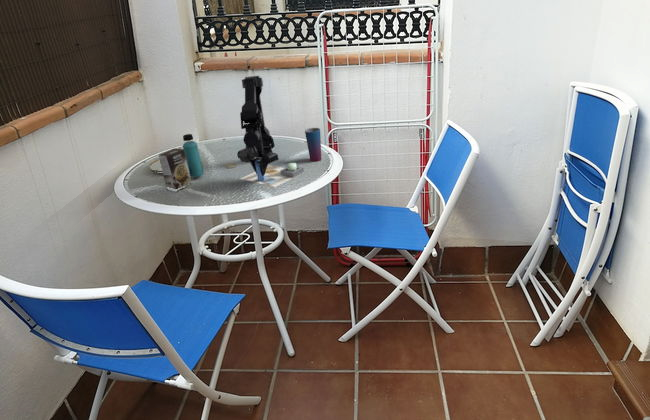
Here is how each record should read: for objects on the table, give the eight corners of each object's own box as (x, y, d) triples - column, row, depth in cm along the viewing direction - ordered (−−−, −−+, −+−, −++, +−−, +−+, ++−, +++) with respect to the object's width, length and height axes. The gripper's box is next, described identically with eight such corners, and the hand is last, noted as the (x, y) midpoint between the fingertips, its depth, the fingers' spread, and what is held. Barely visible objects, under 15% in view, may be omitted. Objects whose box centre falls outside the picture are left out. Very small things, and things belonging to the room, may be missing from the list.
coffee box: (177, 192, 203) (167, 156, 197) (166, 190, 207) (157, 154, 200) (192, 184, 210) (184, 149, 203) (182, 182, 214) (174, 147, 207)
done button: (285, 171, 207) (284, 165, 205) (292, 168, 209) (291, 162, 208) (292, 173, 204) (291, 166, 203) (298, 170, 207) (298, 163, 206)
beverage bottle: (207, 175, 219) (198, 132, 210) (199, 180, 213) (189, 137, 205) (195, 174, 221) (185, 132, 213) (187, 180, 215) (176, 137, 207)
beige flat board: (237, 181, 208) (236, 179, 208) (269, 166, 222) (269, 163, 221) (275, 190, 194) (275, 188, 194) (307, 173, 208) (307, 171, 207)
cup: (321, 164, 217) (318, 131, 210) (307, 164, 218) (303, 132, 212) (324, 159, 223) (321, 127, 216) (310, 159, 224) (306, 128, 218)
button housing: (281, 175, 207) (280, 170, 206) (292, 169, 212) (291, 165, 211) (293, 177, 203) (292, 173, 202) (304, 171, 207) (303, 167, 207)
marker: (256, 180, 203) (253, 161, 200) (261, 177, 206) (258, 159, 202) (261, 181, 202) (258, 162, 198) (266, 178, 204) (263, 160, 200)
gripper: (224, 142, 196) (231, 178, 203) (256, 148, 185) (262, 185, 192) (244, 134, 204) (250, 169, 210) (276, 139, 193) (281, 175, 199)
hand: (260, 174), depth 203 cm, fingers closed on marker, 3 cm apart
